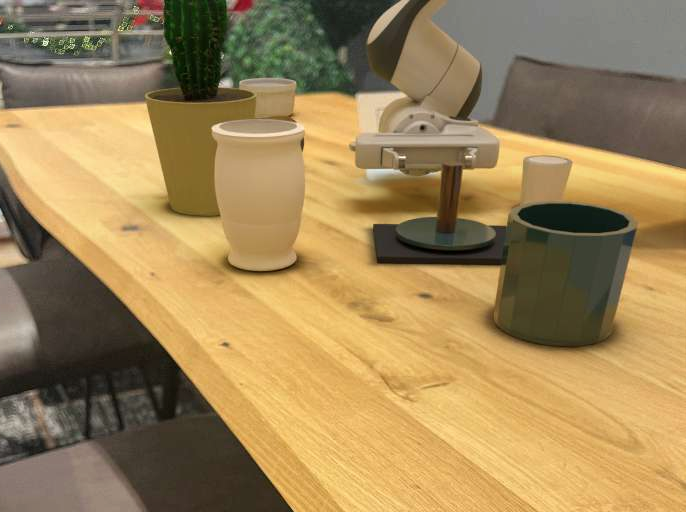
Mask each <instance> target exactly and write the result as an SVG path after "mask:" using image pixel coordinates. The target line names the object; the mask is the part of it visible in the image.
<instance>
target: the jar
mask: <svg viewBox="0 0 686 512" xmlns="http://www.w3.org/2000/svg"><path fill="white" fill-rule="evenodd" d="M305 129H306V128H305V126H304V125H303V124H301V123H298V122H297V123H294V122H289V121H283V120H272V119H248V120H236V121H230V122H224V123H220V124H217V125H215V126H213V127H212V136H213V138H214V139H215V140H216V141H217V144H218V146H217V150H216V156H215V171H214V178H215V191H216V198H217V203H218V207H219V211H220V214H221V215H220V222H221V226H222V230H223V233H224V236H225V239H226V240H227V243H228V245H229V247H231V250H230V251H229V254H228V256H227V260H228V263H229V264H230V265H232V266H234V267H235V268H238V269H240V270H244V271H252V272H269V271H277V270H281V269H285V268H288V267H290V266H292V265H293V264H295V262H296V261H297V253H296V251H295V249H294V248H293V247H294V245H295V244H296V240H297V238H298V236H299V232H300V229H301V221H302V214H303V210H304V209H303V208H304V204H305V203H304V202H305V193H306V169H305V160H304V155H303V152H302V150H301V146H300V141H301V140H302V139H303V137H304V138H305V135H306V131H305Z"/></svg>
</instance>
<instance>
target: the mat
mask: <svg viewBox="0 0 686 512" xmlns="http://www.w3.org/2000/svg"><path fill="white" fill-rule="evenodd" d="M399 224H400V223H373V224H372V231H373V239H374V247H375V255H376V262H377V264H428V265H429V264H430V265H431V264H432V265H434V264H435V265H436V264H437V265H439V264H440V265H493V266H494V265H495V266H496V265H498V266H499V265H500V266H501V261H502V254H503V248H504V241H505V235H506V228H507V225H494V224H493V225H491V224H489V225H488V224H487V225H488V226H490V227H491V228H492V229H494V231H495V233H496V236H495V240H494V242H493V243H491V244H489V245H487V246H485V247H481V248H477V249H470V250H436V249H428V248H423V247H418V246H414V245H411V244H408V243H406V242H404V241H402V240H400V239H399V238H398V237H397V236H396V227H397V226H398V225H399Z"/></svg>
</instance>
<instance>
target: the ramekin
mask: <svg viewBox="0 0 686 512" xmlns="http://www.w3.org/2000/svg"><path fill="white" fill-rule="evenodd" d="M238 89H244V90H249V91H253V92H255V93H257V96H256V110H255V118H258V117H269V116H287V117H290V116H291V115H292V114H293V112H294V109H295V101H296V90H297V81H295V80H293V79H288V78H280V77H257V78H246V79H242V80H240V81H239V82H238Z"/></svg>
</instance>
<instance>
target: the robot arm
mask: <svg viewBox="0 0 686 512" xmlns="http://www.w3.org/2000/svg"><path fill="white" fill-rule="evenodd" d="M449 1H450V0H397V1H396V2H395V3H394V4H393V5H392V6H391V7H390V8H388V9H387V10H386V11H384V12H383V14H381V16H380V17H379V18H378V19H376V21H375V23H374V25H373V26H372V29H370V32H369V34H368V37H367V39H366V42H365V50H366V56H367V61H368V65H369V68H370V71H371V72H372V73H373V74H375V75H376V76H377V77H379V78H381V79H382V80H384V81H385V82H387V83H388V84H392V85H393V86H394V87H396V88H397V89H398V90H399V91H401V92H402V93H403V94H404V95H406V96H404V97H399V98H396V99H394V100H392V101H391V102H389V103H388V104H387V105H386V107H385V108H384V109H383V111H382V113H381V115H380V117H379V121H378V132H363V133H359V134H358V135H357V136H356V137H355V141H350V142H349V144H348V147H349V150H350V151H351V152H354V165H355V168H358V169H360V170H394V171H400V172H401V173H403V174H404V175H406V176H409V177H423V176H427V175H429V174H433V173H438V172H441V168H442V163H443V162H445V161H457V162H462V163H463V164H464V165H463V171H464V170H471V171H473V170H475V169H478V170H479V169H482V170H483V169H487V170H489V169H494V168H496V167H497V165H498V161H499V155H500V147H501V145H500V139H498V137H497V136H496V135H495V134H493V133H492V132H491V131H489V130H488V129H486V128H484V127H481V126H479V121H478V120H477V119H474V118H469V117H470V115H471V114H472V112H473V110H474V108H475V107H476V105H477V103H478V101H479V99H480V95H481V93H482V86H483V68H482V63H481V62H480V61H479V60H478V59H476V57H474V56H473V55H472V54H471V53H470V52H469V51H468V50H466V49H465V48H464V46H462V45H461V44H459V43H457V42H456V41H455V40H454V39H453V38H451V37H450V36H449V35H448V34H447V33H446V32H445V31H443V30H442V29H441V28H440V27H439V26H437V25H436V24H435V23H434V22H433V21H432V20H431V18H432V17H433V16H434V15H435V14H436V13H437V12H438V11H439V10H441V8H443V7H444V5H446V4H447V3H448V2H449Z"/></svg>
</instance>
